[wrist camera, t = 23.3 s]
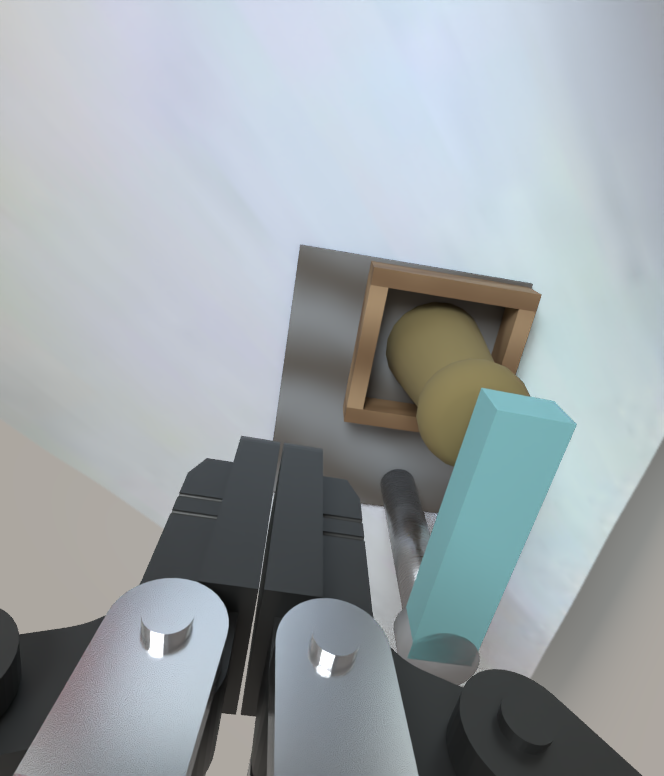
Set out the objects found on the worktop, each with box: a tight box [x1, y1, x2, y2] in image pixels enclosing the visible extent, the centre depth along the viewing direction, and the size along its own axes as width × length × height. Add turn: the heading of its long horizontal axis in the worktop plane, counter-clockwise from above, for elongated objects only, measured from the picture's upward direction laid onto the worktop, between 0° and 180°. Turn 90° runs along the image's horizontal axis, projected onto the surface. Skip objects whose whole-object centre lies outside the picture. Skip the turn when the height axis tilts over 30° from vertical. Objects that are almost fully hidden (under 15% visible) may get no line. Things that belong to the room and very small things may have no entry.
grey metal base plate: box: [273, 245, 541, 513], centre depth 33 cm, size 17×14×2 cm
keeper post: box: [380, 469, 430, 609], centre depth 31 cm, size 2×2×12 cm
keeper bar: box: [394, 388, 577, 685], centre depth 22 cm, size 14×4×2 cm, turn 169°
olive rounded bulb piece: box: [386, 302, 530, 467], centre depth 27 cm, size 6×6×11 cm
